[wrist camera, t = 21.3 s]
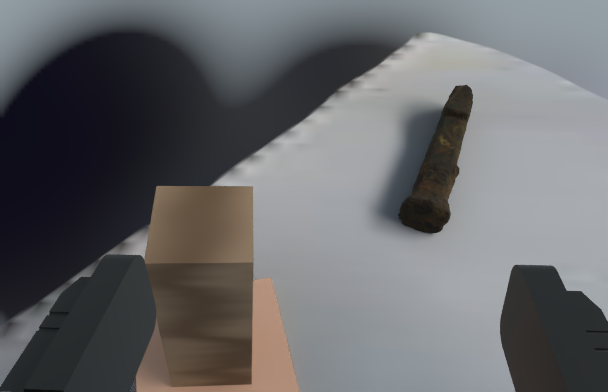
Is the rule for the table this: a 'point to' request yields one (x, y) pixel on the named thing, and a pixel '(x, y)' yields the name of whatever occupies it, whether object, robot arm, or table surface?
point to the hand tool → (439, 167)
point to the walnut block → (203, 282)
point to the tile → (265, 353)
